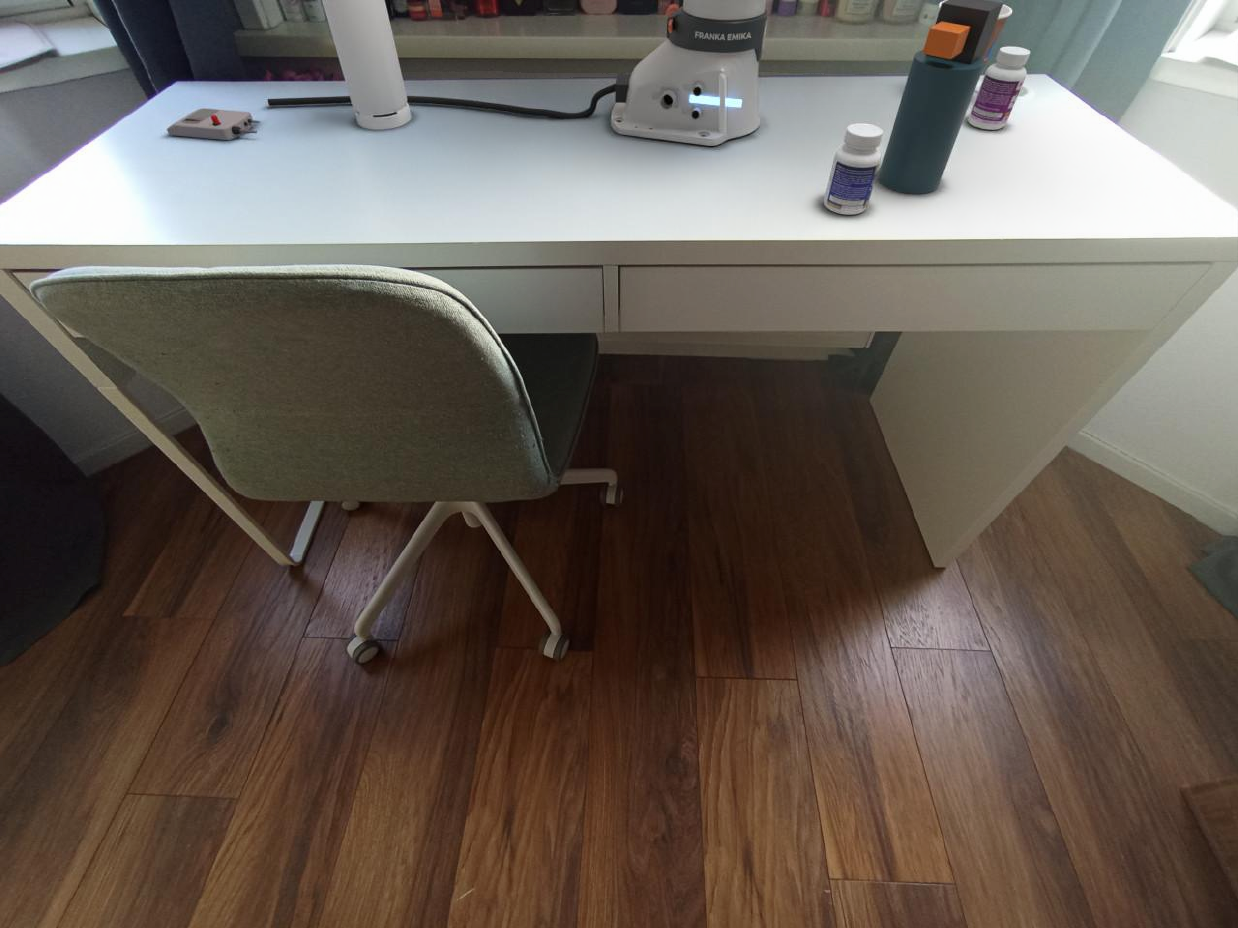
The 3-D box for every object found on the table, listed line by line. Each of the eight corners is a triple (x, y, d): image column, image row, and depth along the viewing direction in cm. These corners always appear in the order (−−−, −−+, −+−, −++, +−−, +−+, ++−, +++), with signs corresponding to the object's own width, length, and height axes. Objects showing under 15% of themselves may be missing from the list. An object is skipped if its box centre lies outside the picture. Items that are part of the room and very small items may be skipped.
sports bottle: (924, 200, 79) (990, 20, 65) (867, 182, 83) (919, 7, 68) (947, 179, 83) (1014, 5, 69) (892, 163, 86) (946, -7, 72)
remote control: (187, 118, 98) (177, 96, 96) (279, 125, 96) (271, 104, 93) (158, 135, 93) (147, 113, 91) (253, 143, 91) (244, 121, 89)
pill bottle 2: (1008, 132, 93) (1040, 57, 86) (970, 129, 94) (999, 55, 87) (1001, 118, 97) (1031, 45, 90) (964, 116, 98) (991, 43, 90)
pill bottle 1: (872, 215, 77) (896, 138, 70) (830, 217, 76) (850, 140, 70) (858, 195, 80) (879, 120, 74) (817, 196, 80) (835, 121, 73)
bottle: (346, 125, 96) (269, -127, 75) (378, 106, 101) (315, -135, 80) (390, 133, 94) (324, -124, 73) (421, 113, 99) (368, -132, 78)
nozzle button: (950, 59, 68) (959, 33, 66) (921, 53, 70) (929, 27, 68) (961, 52, 70) (970, 26, 68) (933, 46, 71) (941, 21, 69)
